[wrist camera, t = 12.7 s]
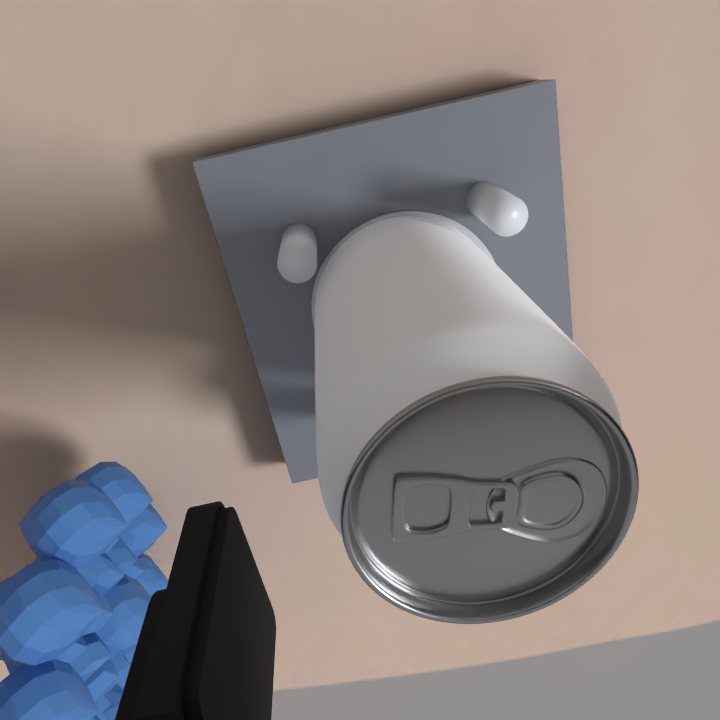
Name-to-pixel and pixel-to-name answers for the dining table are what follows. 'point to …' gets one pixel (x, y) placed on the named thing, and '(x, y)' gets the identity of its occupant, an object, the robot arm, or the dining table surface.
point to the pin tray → (376, 203)
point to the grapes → (79, 598)
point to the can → (460, 431)
